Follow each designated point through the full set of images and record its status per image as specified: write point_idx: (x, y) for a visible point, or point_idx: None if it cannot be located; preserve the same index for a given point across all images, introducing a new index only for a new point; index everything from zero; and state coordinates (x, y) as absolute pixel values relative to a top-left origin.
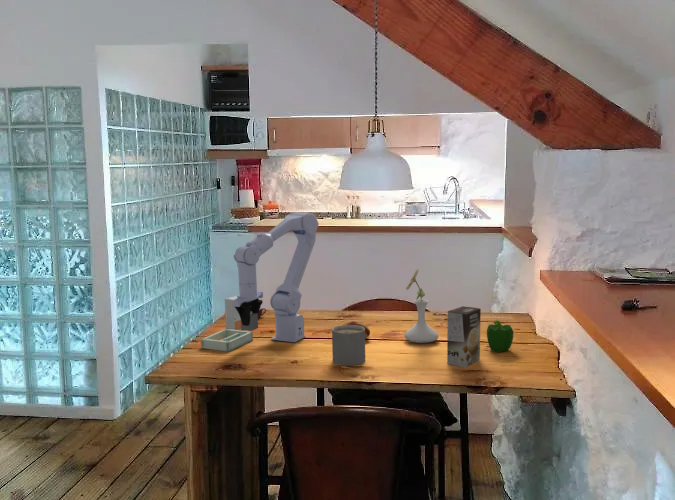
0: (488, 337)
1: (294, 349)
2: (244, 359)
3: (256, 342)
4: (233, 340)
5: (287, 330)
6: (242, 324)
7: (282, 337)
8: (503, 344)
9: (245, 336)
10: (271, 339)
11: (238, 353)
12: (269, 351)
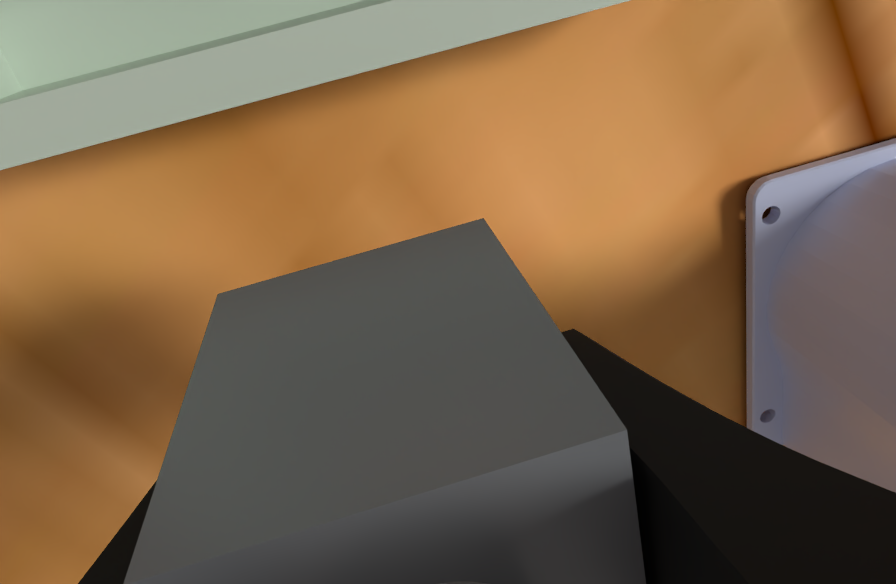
0: None
1: None
2: (16, 516)
3: (581, 106)
4: (97, 143)
5: (859, 436)
6: None
7: (782, 338)
8: None
9: (473, 40)
10: (747, 195)
11: (85, 306)
12: None
